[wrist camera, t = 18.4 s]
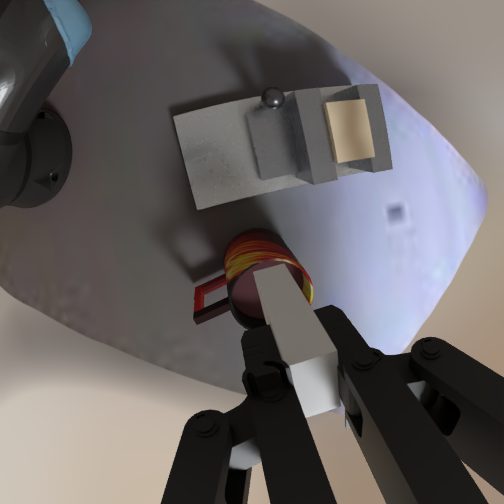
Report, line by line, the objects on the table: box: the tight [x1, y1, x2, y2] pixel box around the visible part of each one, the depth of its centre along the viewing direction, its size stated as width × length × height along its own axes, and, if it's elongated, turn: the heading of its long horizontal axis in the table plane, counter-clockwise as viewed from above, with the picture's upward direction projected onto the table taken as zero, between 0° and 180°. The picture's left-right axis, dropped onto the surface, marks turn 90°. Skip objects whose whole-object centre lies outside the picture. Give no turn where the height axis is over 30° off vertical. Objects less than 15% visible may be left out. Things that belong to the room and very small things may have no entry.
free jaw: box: [245, 87, 338, 185], centre depth 33 cm, size 8×12×8 cm
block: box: [323, 99, 375, 163], centre depth 34 cm, size 5×7×8 cm
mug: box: [193, 228, 313, 330], centre depth 39 cm, size 10×14×12 cm
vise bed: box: [173, 84, 393, 210], centre depth 35 cm, size 26×13×8 cm, turn 102°
